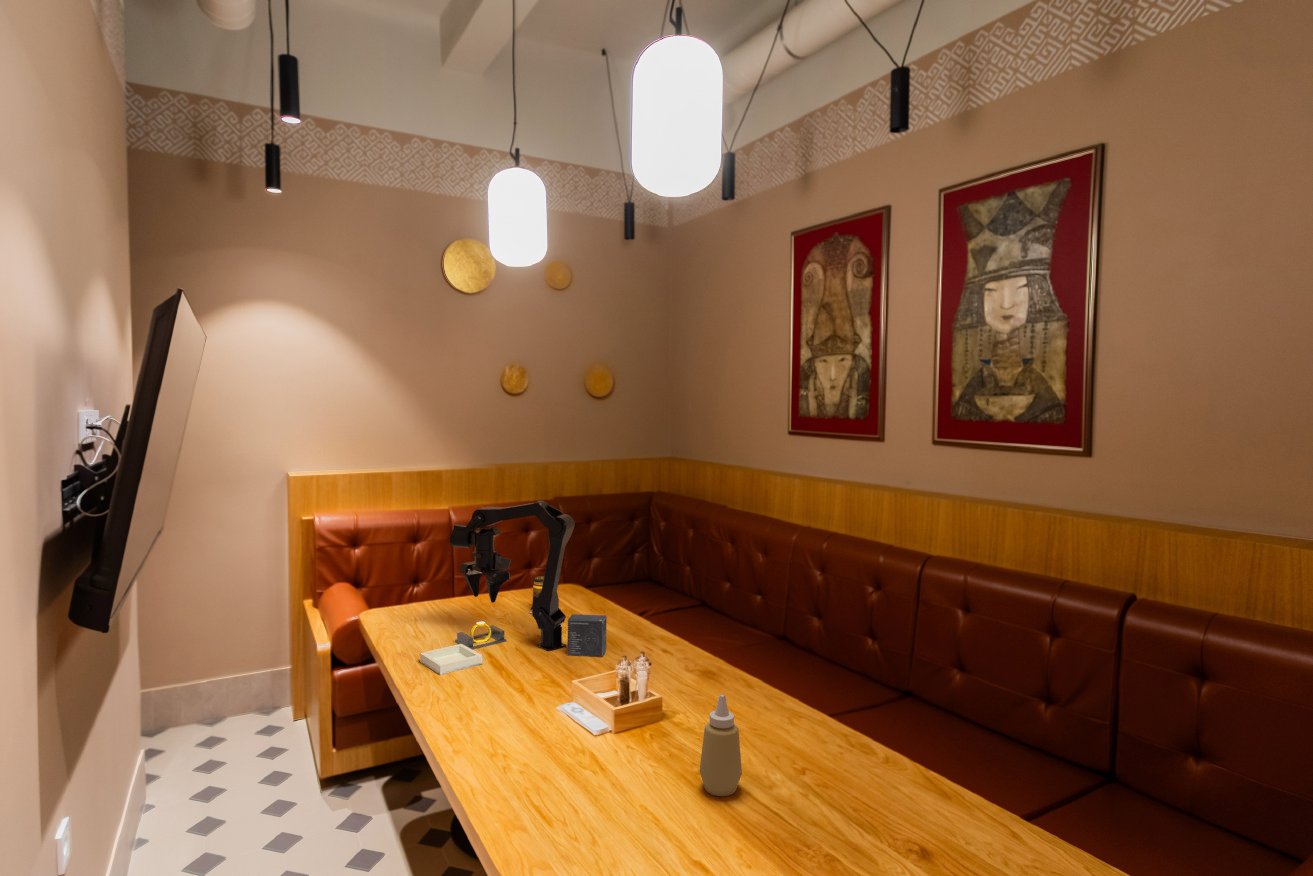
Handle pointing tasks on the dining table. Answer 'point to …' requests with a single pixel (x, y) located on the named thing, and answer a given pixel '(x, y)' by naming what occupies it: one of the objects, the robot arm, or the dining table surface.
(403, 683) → the dining table surface
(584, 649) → the box
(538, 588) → the condiment
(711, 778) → the squeeze bottle
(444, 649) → the parts tray
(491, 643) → the grey rectangular open frame
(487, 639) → the watch
